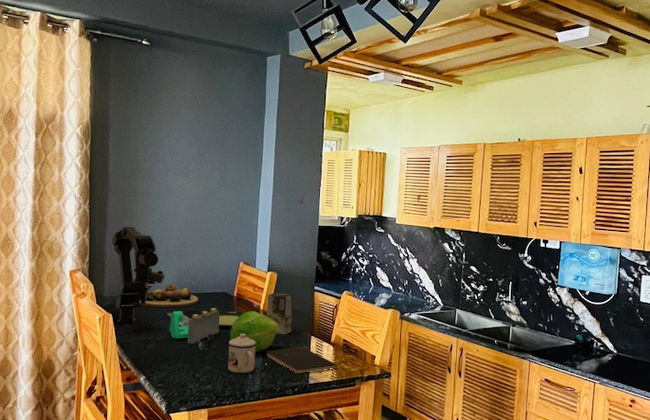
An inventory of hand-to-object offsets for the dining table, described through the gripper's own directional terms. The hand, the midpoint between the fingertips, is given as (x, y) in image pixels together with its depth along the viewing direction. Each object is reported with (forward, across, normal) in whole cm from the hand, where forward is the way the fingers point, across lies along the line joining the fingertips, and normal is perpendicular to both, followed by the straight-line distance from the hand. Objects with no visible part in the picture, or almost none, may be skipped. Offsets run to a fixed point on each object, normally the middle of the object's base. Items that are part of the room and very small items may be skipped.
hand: (143, 303), depth 227 cm
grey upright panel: (+14, -8, -25) cm, 30 cm away
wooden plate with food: (+8, +62, +4) cm, 63 cm away
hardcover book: (+20, -36, -63) cm, 75 cm away
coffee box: (+16, +6, -55) cm, 57 cm away
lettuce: (+17, -23, -46) cm, 55 cm away
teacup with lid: (+18, -47, -44) cm, 67 cm away
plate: (+13, +21, -32) cm, 40 cm away
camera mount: (+13, -7, -16) cm, 22 cm away
